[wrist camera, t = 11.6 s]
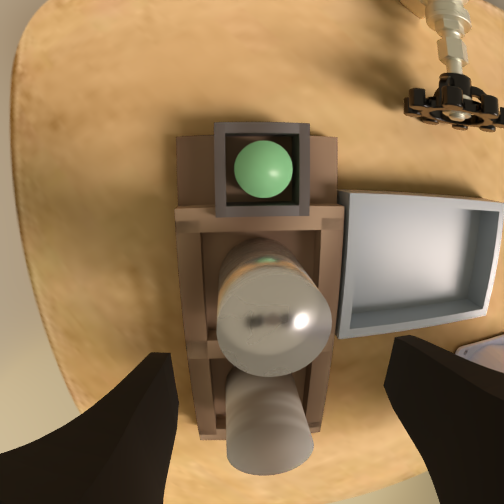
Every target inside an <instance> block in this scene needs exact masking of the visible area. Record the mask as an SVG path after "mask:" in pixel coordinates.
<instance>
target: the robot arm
mask: <svg viewBox="0 0 504 504" xmlns="http://www.w3.org/2000/svg"><path fill="white" fill-rule="evenodd" d="M384 388H385V390H386V393H387V395H388V398H389V400H390V402H391V405H392V407H393V409H394V411H395V413H396V414H397V416H398V418H399V419H400V421H401V423H402V424H403V426H404V428H405V429H406V431H407V433H408V434H409V436H410V438H411V439H412V441H413V443H414V444H415V446H416V448H417V449H418V451H419V453H420V454H421V456H422V458H423V460H424V462H425V464H426V467H427V469H428V471H429V474H430V476H431V479H432V481H433V484H434V487H435V490H436V493H437V496H438V499H439V502H440V504H504V334H503V335H500V336H496V337H493V338H490V339H486V340H483V341H479V342H476V343H472V344H468V345H464V346H461V347H459V348H458V349H457V350H456V353H455V354H453V353H451V352H449V351H447V350H445V349H443V348H440V347H438V346H436V345H434V344H432V343H429V342H427V341H425V340H422V339H420V338H417V337H415V336H411V335H407V336H401V337H395V339H394V344H393V349H392V353H391V358H390V362H389V366H388V370H387V374H386V378H385V382H384ZM178 407H179V401H178V395H177V390H176V384H175V379H174V373H173V367H172V361H171V354H170V353H155V352H151V353H150V354H149V355H148V356H147V357H146V358H145V359H144V360H143V361H142V362H141V363H140V364H139V365H138V366H137V367H136V368H135V369H134V370H133V371H132V372H131V373H130V374H128V375H127V376H126V377H125V378H124V379H123V380H122V381H121V382H120V383H119V384H118V385H117V386H116V387H115V388H114V389H112V390H111V391H110V392H109V393H108V394H107V395H105V396H104V397H103V398H102V399H101V400H99V401H98V402H97V403H96V404H95V405H93V406H92V407H91V408H89V409H88V410H87V411H85V412H84V413H83V414H81V415H80V416H78V417H77V418H75V419H74V420H72V421H71V422H69V423H67V424H66V425H64V426H62V427H61V428H59V429H57V430H55V431H53V432H51V433H49V434H47V435H45V436H44V437H42V438H40V439H38V440H35V441H33V442H31V443H29V444H26V445H24V446H21V447H19V448H16V449H13V450H10V451H7V452H4V453H1V454H0V504H163V497H164V490H165V483H166V478H167V474H168V469H169V464H170V459H171V454H172V450H173V445H174V440H175V435H176V430H177V420H178Z"/></svg>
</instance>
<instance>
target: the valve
mask: <svg viewBox="0 0 504 504" xmlns="http://www.w3.org/2000/svg"><path fill="white" fill-rule="evenodd" d="M399 1H400V2H401V3H402V4H403V5H404V6H405V7H406V8H408V9H409V10H410V11H411V12H412V13H414V14H415V15H416V16H417V17H419V18H420V19H423V18H426V23H427V25H428V26H429V27H430V28H431V29H432V30H434V31H436V32H437V33H438V35H439V36H441V37H442V39H440V40H438V41H437V46H438V56H439V60H440V61H441V62H442V63H443V64H445V65H446V66H447V73H443V74H441V75H440V77H439V78H440V81H439V88H438V89H437V90H436V92H435V94H434V96H433V97H428V98H425V89H420V88H412V89H410V90H409V97H407V98H404V114H405V115H406V116H410V117H421V116H422V121H423V122H424V123H426V124H432V125H437V124H439V122H441V123H448V124H452V128H454V129H457V130H467V129H468V126H471V127H479V129H480V130H482V131H486V132H495V131H496V127H499V128H504V108H503V107H500V112H499V108H498V99H497V98H496V97H494V96H491V95H486V94H485V93H484V91H482V90H481V89H479V88H477V87H473V86H471V79H470V78H469V77H467V76H465V75H463V71H462V67H464V66H466V65H468V55H467V47H466V45H465V44H464V42H463V41H462V40H461V38H463V37H464V36H465V34H466V33H468V32H469V31H470V30H471V28H472V26H471V21H470V16H469V13H468V11H467V10H466V9H465V8H464V7H463V6H464V5H465V4H467V2H468V1H469V0H399ZM472 97H476V98H478V99H479V100H480V101H481V103H479V102H476V101H473V100H472ZM471 114H473V115H471Z"/></svg>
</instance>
